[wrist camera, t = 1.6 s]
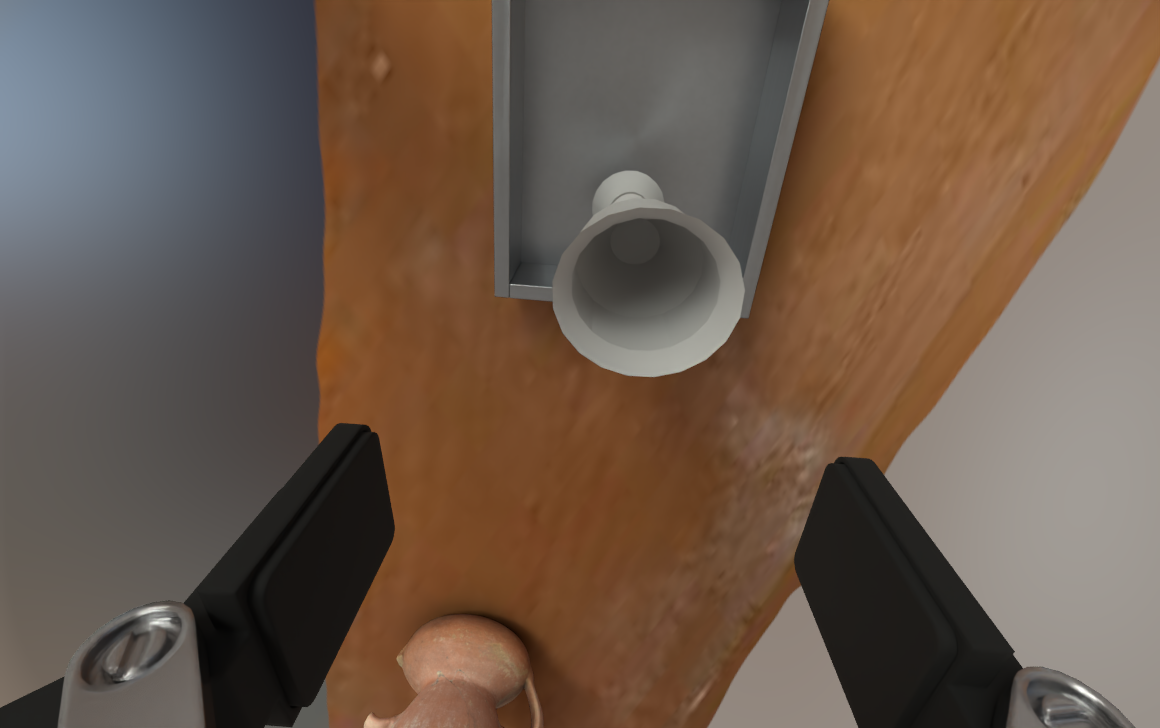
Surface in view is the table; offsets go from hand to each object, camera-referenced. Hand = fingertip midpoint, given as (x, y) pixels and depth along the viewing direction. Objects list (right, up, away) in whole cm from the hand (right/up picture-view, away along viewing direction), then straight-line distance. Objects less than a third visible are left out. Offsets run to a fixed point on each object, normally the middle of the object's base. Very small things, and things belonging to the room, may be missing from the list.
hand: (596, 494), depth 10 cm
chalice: (+3, +14, +24) cm, 28 cm away
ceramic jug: (-13, -30, +49) cm, 59 cm away
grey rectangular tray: (+3, +18, +22) cm, 29 cm away
